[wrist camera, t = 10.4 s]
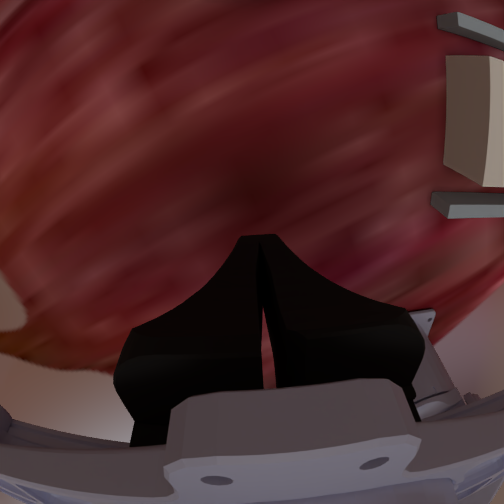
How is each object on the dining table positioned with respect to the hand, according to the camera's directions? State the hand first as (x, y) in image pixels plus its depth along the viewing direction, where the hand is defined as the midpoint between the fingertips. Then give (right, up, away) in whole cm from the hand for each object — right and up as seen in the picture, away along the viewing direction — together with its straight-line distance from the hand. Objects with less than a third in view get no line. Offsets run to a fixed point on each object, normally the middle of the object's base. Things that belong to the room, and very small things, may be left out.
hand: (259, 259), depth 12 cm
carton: (+18, +11, +6) cm, 22 cm away
